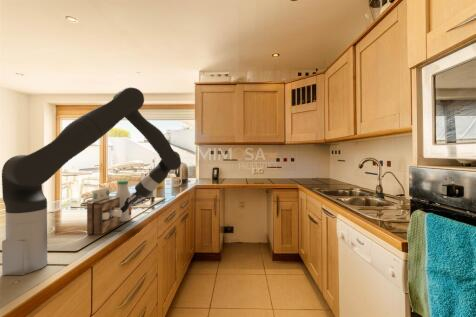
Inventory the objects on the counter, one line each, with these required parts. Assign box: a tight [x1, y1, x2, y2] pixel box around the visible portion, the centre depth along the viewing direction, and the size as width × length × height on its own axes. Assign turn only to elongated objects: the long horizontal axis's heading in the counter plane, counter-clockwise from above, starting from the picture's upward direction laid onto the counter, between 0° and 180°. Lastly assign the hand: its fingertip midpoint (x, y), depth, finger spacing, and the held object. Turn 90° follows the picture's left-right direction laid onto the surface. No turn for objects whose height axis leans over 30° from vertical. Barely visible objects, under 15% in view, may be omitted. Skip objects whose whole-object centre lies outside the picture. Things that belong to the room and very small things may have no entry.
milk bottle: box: [114, 180, 132, 223], centre depth 123 cm, size 8×8×20 cm
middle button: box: [108, 210, 122, 217], centre depth 109 cm, size 3×5×3 cm, turn 88°
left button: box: [102, 212, 110, 220], centre depth 104 cm, size 3×5×3 cm, turn 88°
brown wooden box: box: [86, 196, 121, 235], centre depth 109 cm, size 15×6×13 cm, turn 178°
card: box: [91, 186, 111, 203], centre depth 109 cm, size 12×1×5 cm, turn 178°
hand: (122, 210), depth 114 cm, fingers closed
